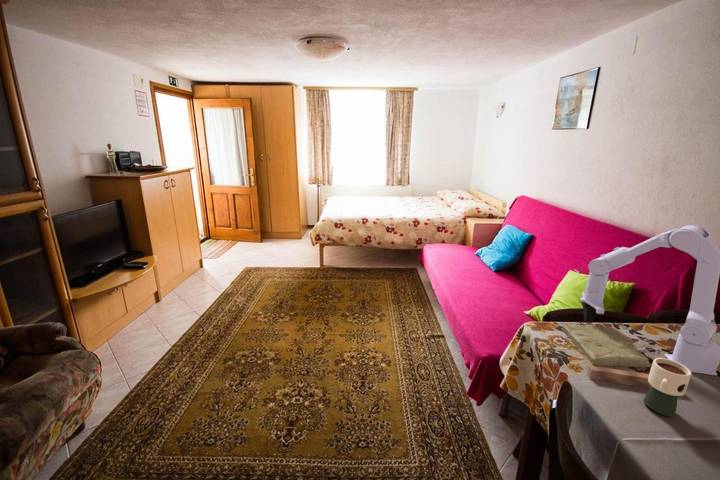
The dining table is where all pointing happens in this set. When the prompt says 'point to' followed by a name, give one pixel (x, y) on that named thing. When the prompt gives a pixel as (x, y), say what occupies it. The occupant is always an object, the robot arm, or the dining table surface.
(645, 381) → the rail
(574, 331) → the decorative tile
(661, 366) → the character mug
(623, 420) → the dining table surface
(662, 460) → the dining table surface
